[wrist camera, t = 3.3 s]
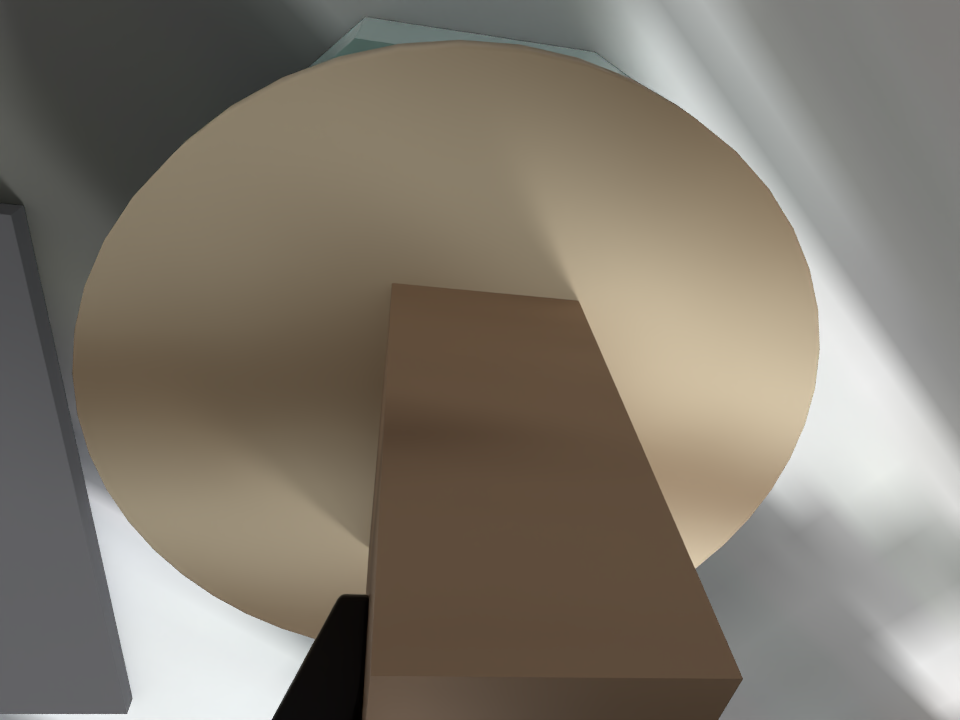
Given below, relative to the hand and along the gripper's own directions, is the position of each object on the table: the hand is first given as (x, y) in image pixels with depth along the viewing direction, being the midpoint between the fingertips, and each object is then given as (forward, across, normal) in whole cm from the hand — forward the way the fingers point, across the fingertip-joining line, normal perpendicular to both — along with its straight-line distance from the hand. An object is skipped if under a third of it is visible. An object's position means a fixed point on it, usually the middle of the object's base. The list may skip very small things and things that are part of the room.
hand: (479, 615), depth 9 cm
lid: (+4, 0, 0) cm, 4 cm away
